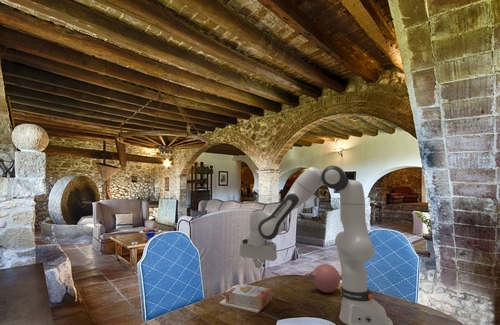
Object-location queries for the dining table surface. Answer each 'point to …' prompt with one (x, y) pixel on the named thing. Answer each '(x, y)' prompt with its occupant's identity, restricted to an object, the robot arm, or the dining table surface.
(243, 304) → the cracker box
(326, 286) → the balloon
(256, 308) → the limestone tile
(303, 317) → the dining table surface
